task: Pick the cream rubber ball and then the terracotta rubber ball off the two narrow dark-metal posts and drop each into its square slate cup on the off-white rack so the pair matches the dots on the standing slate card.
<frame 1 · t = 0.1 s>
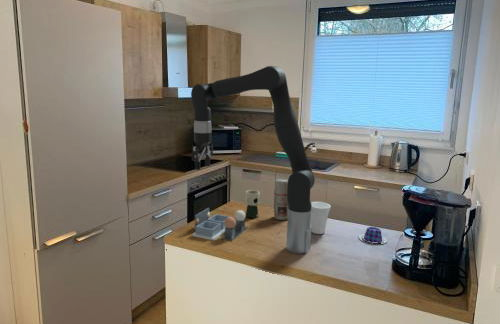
hand: (202, 167, 173), 29 cm above the counter, fingers open, 8 cm apart
spray can: (281, 218, 198), on the counter
rack: (214, 230, 179), on the counter
terracotta ball: (230, 222, 170), point 7 cm above the counter, touching post stand
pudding: (372, 240, 174), on the counter
cream ball: (239, 215, 179), point 7 cm above the counter, touching post stand
target card: (202, 228, 182), on the counter
character mug: (251, 216, 199), on the counter
post stand: (234, 233, 176), on the counter
cup: (317, 232, 181), on the counter
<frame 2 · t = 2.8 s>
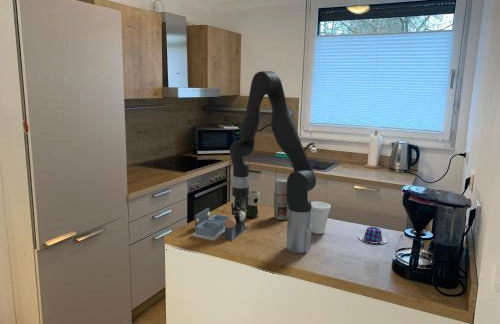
hand: (239, 221, 180), 4 cm above the counter, fingers closed on cream ball, 5 cm apart
cream ball: (239, 215, 179), point 7 cm above the counter, touching gripper, post stand
everything else where it was.
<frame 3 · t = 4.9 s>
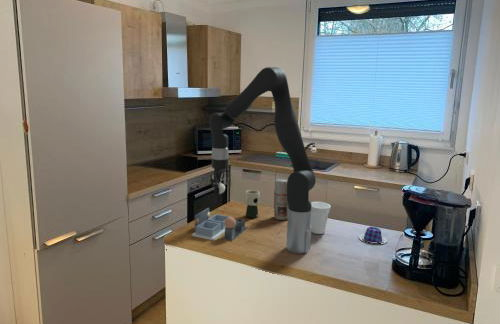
hand: (219, 193, 180), 16 cm above the counter, fingers closed on cream ball, 5 cm apart
cream ball: (219, 188, 180), point 19 cm above the counter, touching gripper
everything else where it was.
when the fingers open (5 cm above the counter, at t = 7.0 s): cream ball drops 4 cm, resting on rack.
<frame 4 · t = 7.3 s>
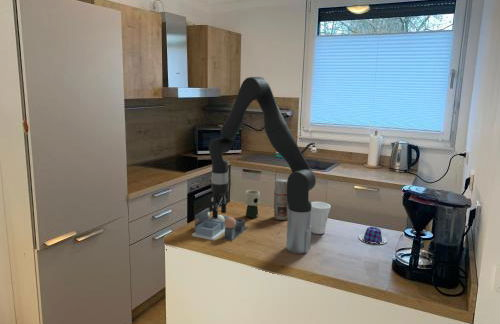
hand: (219, 215, 183), 6 cm above the counter, fingers open, 8 cm apart
cream ball: (219, 220, 183), point 3 cm above the counter, touching rack
everything else where it was.
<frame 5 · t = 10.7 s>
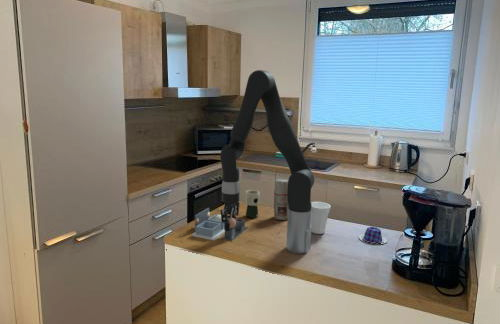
hand: (230, 228, 171), 4 cm above the counter, fingers closed on terracotta ball, 5 cm apart
terracotta ball: (230, 222, 170), point 7 cm above the counter, touching gripper, post stand
everything else where it was.
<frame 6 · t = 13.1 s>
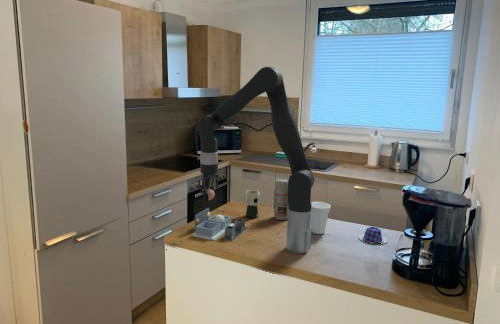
hand: (208, 200, 172), 16 cm above the counter, fingers closed on terracotta ball, 5 cm apart
terracotta ball: (208, 194, 171), point 18 cm above the counter, touching gripper
when the fingers open (5 cm above the counter, at t = 15.1 s): terracotta ball drops 4 cm, resting on rack.
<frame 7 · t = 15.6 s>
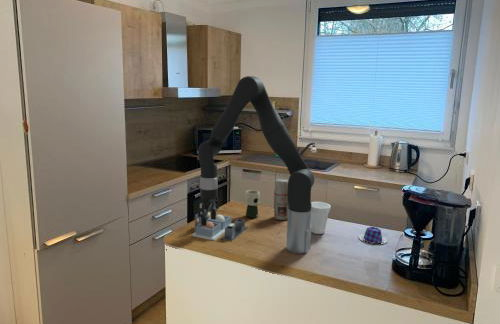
hand: (208, 222, 174), 6 cm above the counter, fingers open, 8 cm apart
terracotta ball: (208, 227, 174), point 3 cm above the counter, touching rack
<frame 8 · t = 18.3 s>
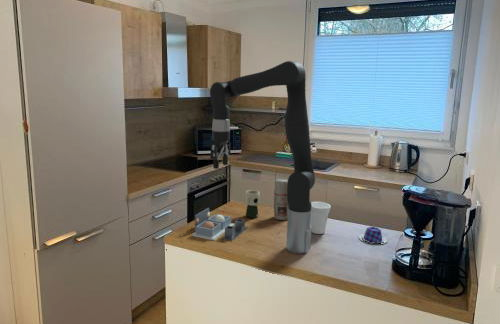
hand: (220, 166, 172), 30 cm above the counter, fingers open, 8 cm apart
at the end: cream ball 0.1 cm from the target spot on the rack, point 3.3 cm above the rack's base; terracotta ball 0.0 cm from the target spot on the rack, point 3.3 cm above the rack's base; the gripper is holding nothing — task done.
